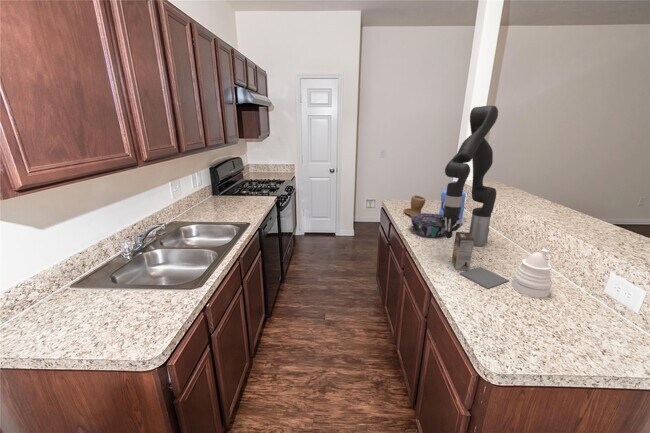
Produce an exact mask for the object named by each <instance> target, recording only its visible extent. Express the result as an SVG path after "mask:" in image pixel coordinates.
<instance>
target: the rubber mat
mask: <svg viewBox="0 0 650 433" xmlns="http://www.w3.org/2000/svg"><path fill="white" fill-rule="evenodd" d="M459 275H460V276H462V277H464V278H466V279H468V280H469V281H471V282H473V283H475V284H477V285H479V286H480V287H483V288H484V289H486V290H490V289H493V288H495V287H498V286H500V285H504V284H506V283H509V282H510V280H509V279H508V278H506V277H503V276H501V275H499V274H497V273H496V272H493V271H491V270H488V269H486V268H484V267H482V266H477V267H474V268H471V269H469V270H463V271H461V272H459Z"/></svg>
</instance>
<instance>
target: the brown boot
mask: <svg viewBox="0 0 650 433" xmlns="http://www.w3.org/2000/svg"><path fill="white" fill-rule="evenodd" d="M425 204H426V198H425V197H424V196H420V195H413V196H412V197H411V200H410V208H409V207H408V208H404V209H403V212H404V213H406V214H407V215H408V216H410V217H412V216H414V215H417V214H422V210H423V208H424V206H425Z"/></svg>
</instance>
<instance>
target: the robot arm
mask: <svg viewBox="0 0 650 433" xmlns="http://www.w3.org/2000/svg"><path fill="white" fill-rule="evenodd" d="M498 116H499V109H498V108H497V106H496V105H482V106H475V107H472V109H471V111H470V114H469V125H470V133H471V134H470V135H469V136H468V137H466V139H465V140H464V141H463V142H462V143H461V145H460V147H459V149H458V151H457V153H456V154H455V155H454V156H453V157H452V158H451V160H449V162H447V163H446V165H445V168H444V175H445V176H446V177H448V178H452V179H453V178H454V179H457V182H453V181H452V182H449V183H447V185H446V189H447V192H446V197H445V202H444V206H443V208H444V211H443V212H444V214H443V216H442V217H439V220H440V222H441V224H442V227H443V228H445V230H446V234H445V235H444V236H445V238H447V239H452V237H453V232H457V231H458V230H459V229H460V228H461V227H462V226H463V225H464V224H463V222H460V221H459V215H460V211H461V204H462V193H463V191H464V188H465V184H466V182H467V179H468V177H469V175H470V172H471V168H470V164H468V163H469V162H472V184H471V198H472V200H473V201H474V202H476V203H480V204H482V206H481V207H475V208H473V209H472V213H471V219H470V226H469V232H468V233H470V234H471V235H472V237H473V238H474V246H476V247H483V246H485V247H486V245H487V243H488V237H489V233H490V223H491V217H492V213H493V211H494V206H495V204H496V199H497V190H496V188H494V187H491V186H486V185H484V177H485V175H486V174H487V172H488V171H489V170H490V169H491V168H492V165H493V161H494V160H493V159H494V157H493V156H494V155H493V154H494V150H493V149H492V146H491V144H489V142H488V140H486V138H485V137H486V136H487V135H488V134H489V132H490V130H492V128H493V127H494V125H495V123H496V121H497V119H498ZM444 224H445V225H444Z"/></svg>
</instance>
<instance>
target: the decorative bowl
mask: <svg viewBox="0 0 650 433" xmlns="http://www.w3.org/2000/svg"><path fill="white" fill-rule="evenodd" d="M442 216H443V215H439V213H438V214H437V213H431V212H429V213H427V212H423V213H422V212H421V214H417V215H414V216H410V221H411V223H412V227H413V228H412V229H413V231H414V232H415V231H416V232H415V234H418V235H420V236H423V237H426V238H427V237H428V238H437V237H443V236H445V234H446V230H445V228H443V227H442V224H441V222H440V220H439V217H442ZM444 225H445V224H444Z"/></svg>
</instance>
